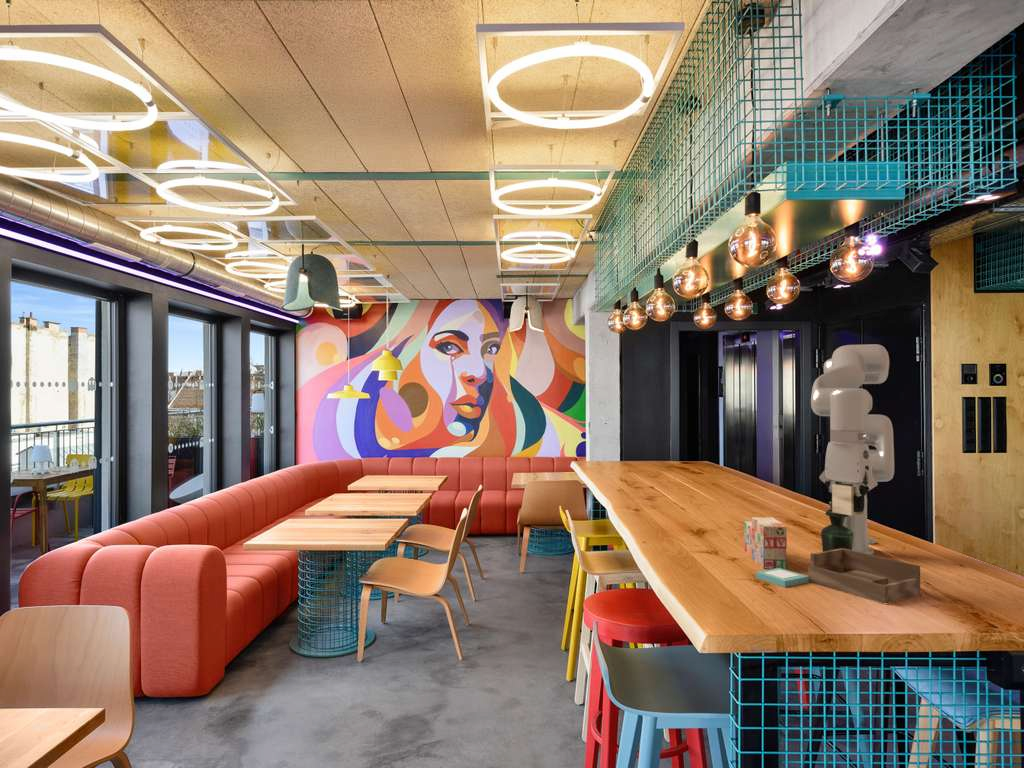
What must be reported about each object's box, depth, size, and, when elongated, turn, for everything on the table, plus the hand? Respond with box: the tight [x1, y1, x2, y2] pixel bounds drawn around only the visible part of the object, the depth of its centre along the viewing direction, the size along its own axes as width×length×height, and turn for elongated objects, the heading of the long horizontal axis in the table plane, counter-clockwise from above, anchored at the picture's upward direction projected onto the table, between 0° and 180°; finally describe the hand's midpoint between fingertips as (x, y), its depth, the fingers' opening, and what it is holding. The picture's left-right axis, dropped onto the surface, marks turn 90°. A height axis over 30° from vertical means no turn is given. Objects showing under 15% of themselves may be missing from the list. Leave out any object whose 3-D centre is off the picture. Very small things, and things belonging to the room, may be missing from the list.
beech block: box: [832, 483, 863, 516], centre depth 158 cm, size 5×5×7 cm
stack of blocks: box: [743, 516, 788, 570], centre depth 183 cm, size 21×6×12 cm, turn 173°
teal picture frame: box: [755, 568, 810, 588], centre depth 163 cm, size 9×9×2 cm
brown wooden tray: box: [807, 548, 921, 604], centre depth 156 cm, size 14×20×7 cm
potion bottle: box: [820, 501, 853, 552], centre depth 175 cm, size 8×8×18 cm
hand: (847, 509), depth 158 cm, fingers closed on beech block, 5 cm apart
